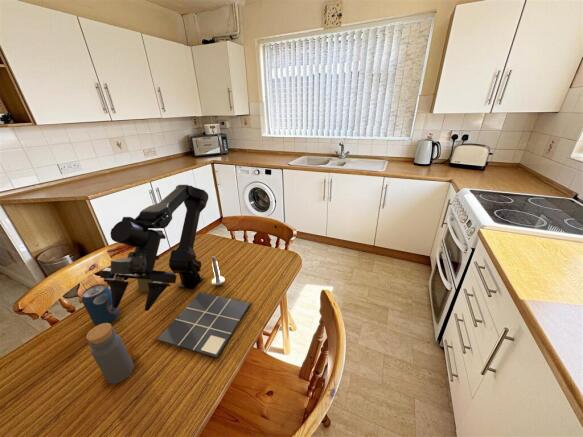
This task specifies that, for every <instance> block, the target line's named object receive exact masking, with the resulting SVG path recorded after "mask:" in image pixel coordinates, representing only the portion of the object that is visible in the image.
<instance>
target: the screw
mask: <svg viewBox="0 0 583 437" xmlns="http://www.w3.org/2000/svg"><path fill="white" fill-rule="evenodd" d="M211 263H212V264H211V265H212V271H213V275H214V277H213V279H211V284H212V285H213V286H215V287H216V288H220V287H222V286H223V284H224V283H225V282H226V278H225V277H224V276H221V275H220V269H219V265H218V261H217V258H216V256H214V255H213V256H211Z"/></svg>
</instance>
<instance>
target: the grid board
mask: <svg viewBox="0 0 583 437" xmlns="http://www.w3.org/2000/svg"><path fill="white" fill-rule="evenodd" d="M250 306H251V303H250V302H246V301H240V300H236V299H232V298H227V297H223V296H219V295H213V294H208V293H204V292H199V293H198V294H197V295H196V296H195V297H194V298H193V299H192V300H191V302H189V304H188V305H187V306H186V307H185V308H184V309H183V310H182V311H181V313H179V315H178V316H177V317H176V318H175V319H174V320H173V321H172V322H171V323H170V324H169V325H168V327H166V329H165V330H164V331H163V332H162V333H161V334H160V336H158V338H157V339H156V341H157V342H161V343H163V344H167V345H170V346H174V347H177V348H181V349H183V350H187V351H190V352H194V353H197V354H200V355H203V356H207V357H211V358H214V359H218V358H219V356H220V354H221V353H222V351H223V350H224V348H225V347H226V345H227V343H228V342H229V340H230V338H231V337H232V335H233V333H234V332H235V330H236V328H237V327H238V326H239V324H240V322H241V320H242V318H243V317H244V316H245V314H246V312H247V310H248V309H249V307H250Z"/></svg>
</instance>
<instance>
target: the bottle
mask: <svg viewBox="0 0 583 437" xmlns="http://www.w3.org/2000/svg"><path fill="white" fill-rule="evenodd" d="M112 326H113V325H112V323H111V324H109V323H103V324H100V325H95V326H94V327H93V328H91V329H90V330H89V331H88V332H87V334H86V340H87V341H88V347H89V348H90V349H91V350H90V353H91V356H92V358H93V359H94V361H95V362H96V364H97V367H98V368H99V369H100V371H101V373H102V375H103V376H104V378H105V380H106V381H107V383H109V384H112V385H115V384H119V383H121V382H123V381H125V380H126V379H127V378H128V377H129V376H130V375H131V374H132V372H133V370H134V367H135V365H134V361H133V360H132V358H131V356H130V353H129V351H128V349H127V347H126V345H125V343H124V341H123V339H122V337H121V336H120V335H119V334H117V331H116V330H115V328H114V327H112Z"/></svg>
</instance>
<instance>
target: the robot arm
mask: <svg viewBox="0 0 583 437" xmlns="http://www.w3.org/2000/svg"><path fill="white" fill-rule="evenodd" d="M208 201H209V193H208V192H206V190H205V189H202V188H201V189H200V188H198V187H195V186H193V185H191V184H178V185H176V186H175V188H174V189H173V190H172V191H171V192H170V193H169V194H167V195H166V196H165V197H164V198H163V199H162V200H161V201H159V202H157V203H155V204H152V205H149V206H147V207H145V208H142V210H140V212H139V214H138V215H137V216H136V217H134V218H133V217H131V216H123V217H122V219H121V221H118V222H117V223H115V225H114V226H113V227H112V228H110V229H111V230H110V238H111V240H112V241H113V242H115V243H117V244H118V243H119V244H122V245H125V246H128V247H132V248H134V249H133V251H129V253H128V255H127V257H122V258H121V257H120V258H116V259H112V260H110V267H105V268H104V269H102V270H101V273H100V276H99V278H100V279H103V282H104V283H106V284H107V285H108V286H109V289H110V291H111V295H112V305H113V308H117V307H118V308H119V306H120V303H121V301H122V300H123V297H124V295H125V292H126V290H127V288H128V286H129V284H130V281H127V280H129V279H132V280H133V279H135V280H137V279H147V280H151V281H153V283H149V282H148V287H149V291H148V292H147V298H146V300H145V304H144V311H145V312H147V311H149V310H151V308H152V307H153V305H154V304H155V303H156V301H157V300H158V298H159V297H160V296H161V294H162V293H163V292H164V291H165V290H166V289H167V288H168V287H171V284H176V281H177V279H178V278H177V275H176V274H178V275H179V279H180V282H181V283H180V284H179V285H178V287H179V288H180V289H185V290H190V291H193V290H195V289H196V288H197V287H198V285H200V284H201V283H202V281H203V280H204V278H203V277H201V275H200V272H201V269H202V261H201V260H197V255H196V252H195V250H194V245H195V241H196V235H197V230H198V225H199V221H200V216H201V213H202V211H203V210H204V209H205V208H206V207H207V204H208ZM182 204H184V207H185V208H186V211H185V216H184V221H183V225H182V229H181V235H180V238H179V243H178V246H177V247H176V248H175V249H172V250H171V251H170V255H169V256H170V257H169V260H168V268H169V269H170V270H171V271H167V270H155V269H154V267H155V263H156V261H158V260H160V255H158V252H159V248H160V243H161V240H165V239H166V238H167V237H166V235H165V234H164V231H163V230H159V229H166V228H167V227H168V226H169V225H170V223H171V221H172V220H173V213H174V212H175V211H176V210H177V209H178V208H179V207H180V206H181V205H182ZM136 274H137V275H136ZM142 274H146V275H145V276H143V275H142Z"/></svg>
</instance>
